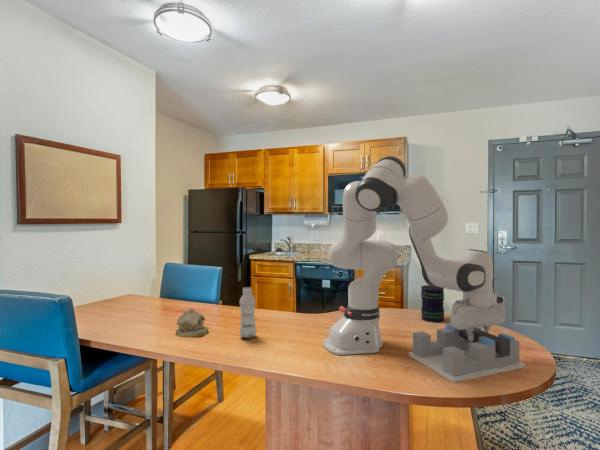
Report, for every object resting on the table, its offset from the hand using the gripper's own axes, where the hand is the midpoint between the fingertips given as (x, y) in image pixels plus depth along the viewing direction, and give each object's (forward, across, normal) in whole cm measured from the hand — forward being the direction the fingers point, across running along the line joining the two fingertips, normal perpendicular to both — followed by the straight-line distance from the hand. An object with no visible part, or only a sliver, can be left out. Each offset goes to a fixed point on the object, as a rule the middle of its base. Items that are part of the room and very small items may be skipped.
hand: (477, 339), depth 108 cm
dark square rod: (+1, 0, 0) cm, 1 cm away
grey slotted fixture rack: (+6, -6, 0) cm, 9 cm away
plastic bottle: (+7, -69, +47) cm, 84 cm away
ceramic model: (+7, -90, +61) cm, 109 cm away
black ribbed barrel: (+7, +16, +40) cm, 44 cm away
